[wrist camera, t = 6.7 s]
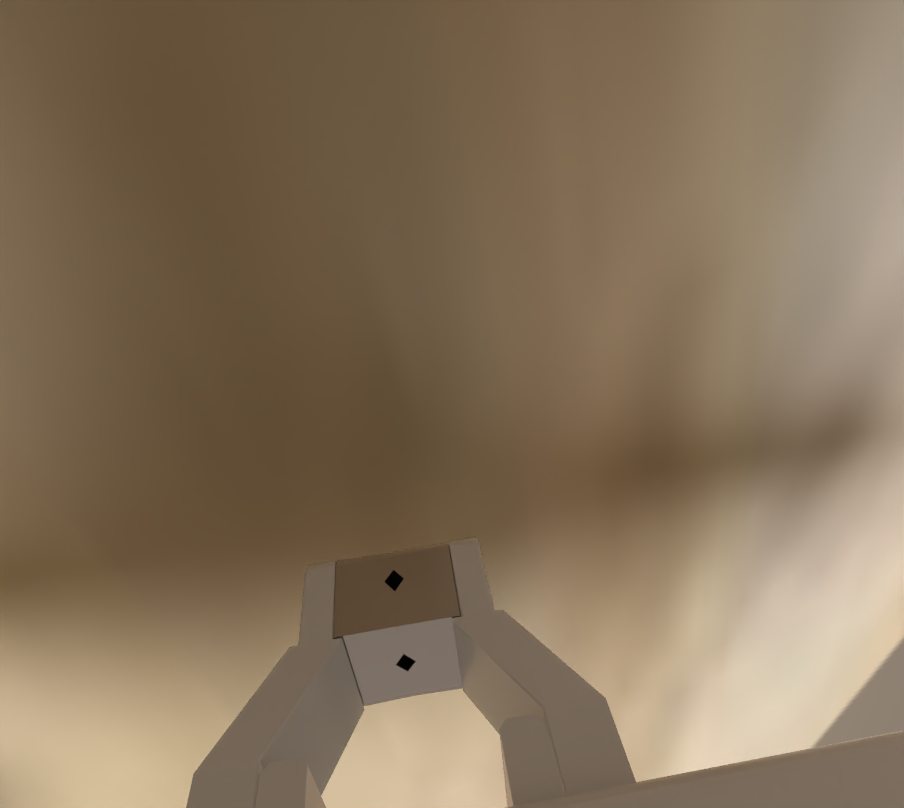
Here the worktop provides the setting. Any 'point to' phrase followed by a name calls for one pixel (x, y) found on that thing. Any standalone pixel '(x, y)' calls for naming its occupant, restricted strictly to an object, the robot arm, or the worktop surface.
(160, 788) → the worktop surface
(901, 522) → the worktop surface
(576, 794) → the robot arm
